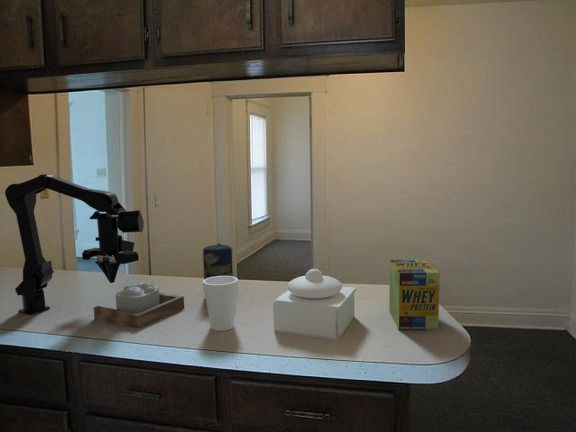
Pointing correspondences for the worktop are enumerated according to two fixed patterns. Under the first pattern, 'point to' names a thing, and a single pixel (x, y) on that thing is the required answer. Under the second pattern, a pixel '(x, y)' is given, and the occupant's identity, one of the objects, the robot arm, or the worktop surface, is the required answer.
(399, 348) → the worktop surface
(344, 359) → the worktop surface
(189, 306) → the worktop surface
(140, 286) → the lumpy-topped squat cylinder
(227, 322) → the foam cup
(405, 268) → the protein box
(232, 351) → the worktop surface
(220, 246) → the canister
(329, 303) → the white lidded box
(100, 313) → the bay
